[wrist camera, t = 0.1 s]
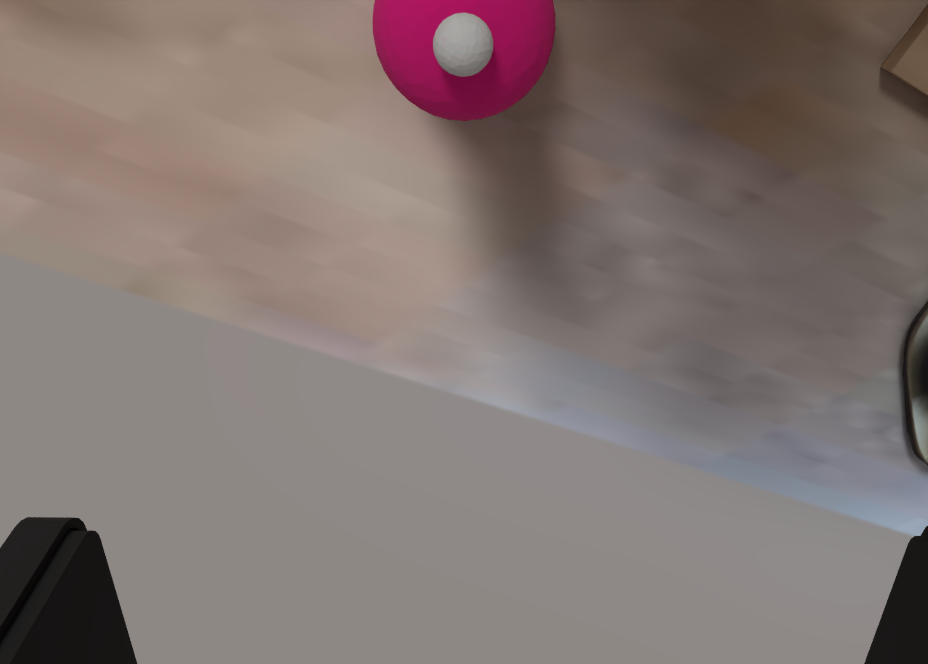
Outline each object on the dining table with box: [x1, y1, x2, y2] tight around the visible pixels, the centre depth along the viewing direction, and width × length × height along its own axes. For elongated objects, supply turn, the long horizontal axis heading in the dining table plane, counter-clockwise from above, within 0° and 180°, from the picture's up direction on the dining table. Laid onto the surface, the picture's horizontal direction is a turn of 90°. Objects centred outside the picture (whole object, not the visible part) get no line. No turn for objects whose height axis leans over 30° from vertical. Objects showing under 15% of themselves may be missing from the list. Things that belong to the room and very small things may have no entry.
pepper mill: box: [373, 0, 555, 121], centre depth 32 cm, size 7×7×20 cm
